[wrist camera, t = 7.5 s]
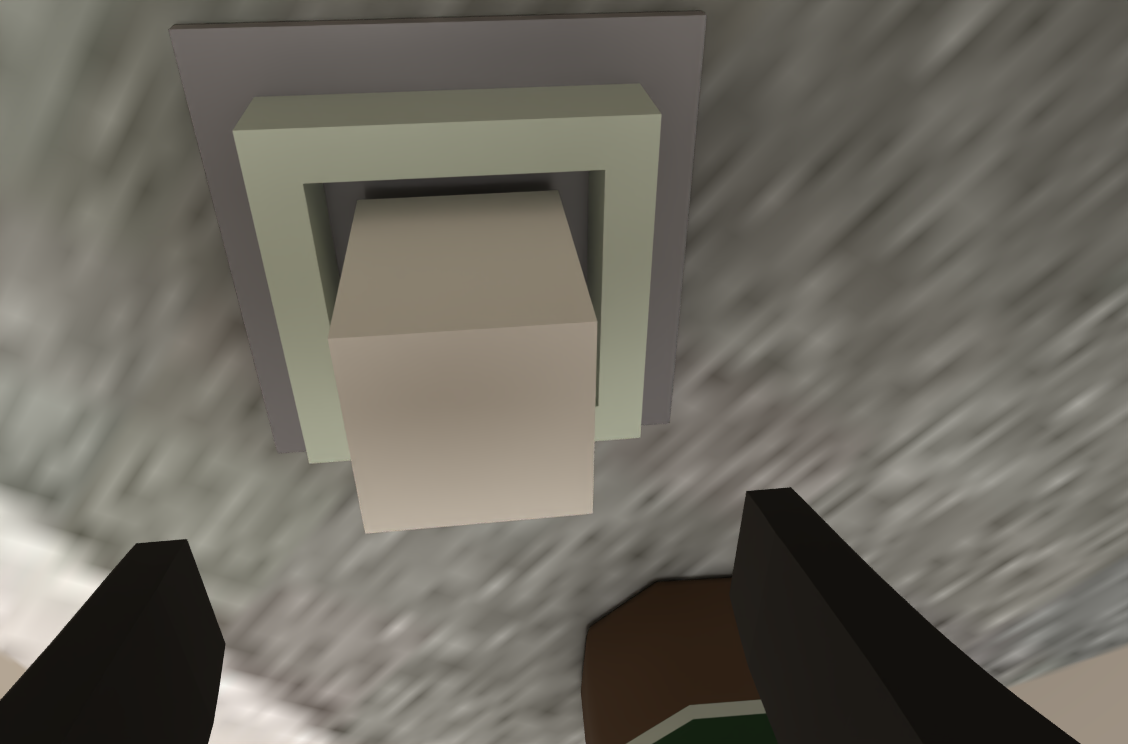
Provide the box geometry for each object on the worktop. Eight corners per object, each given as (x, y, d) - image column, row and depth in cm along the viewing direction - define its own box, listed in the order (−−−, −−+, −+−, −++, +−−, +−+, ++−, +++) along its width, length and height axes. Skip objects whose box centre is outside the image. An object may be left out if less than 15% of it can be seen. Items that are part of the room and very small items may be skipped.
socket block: (701, 10, 16) (737, 39, 14) (666, 414, 22) (688, 474, 20) (174, 24, 15) (135, 57, 13) (280, 443, 21) (263, 509, 19)
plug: (553, 175, 17) (597, 321, 12) (555, 336, 20) (593, 513, 15) (360, 184, 17) (327, 339, 12) (385, 347, 19) (365, 533, 14)
